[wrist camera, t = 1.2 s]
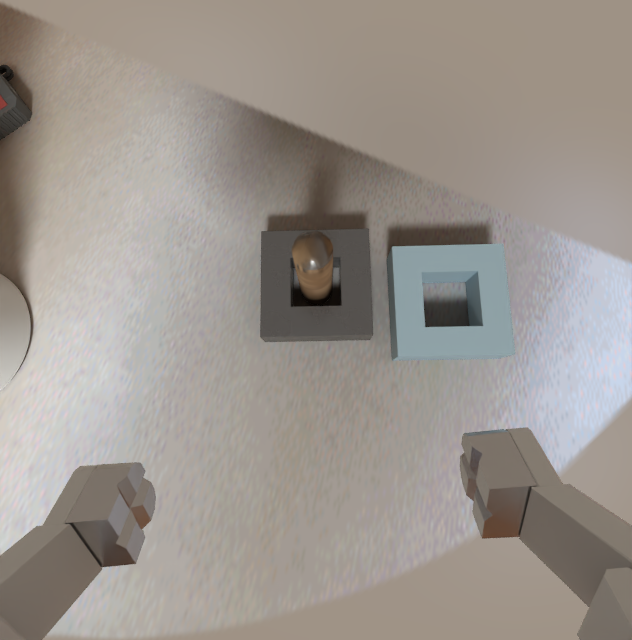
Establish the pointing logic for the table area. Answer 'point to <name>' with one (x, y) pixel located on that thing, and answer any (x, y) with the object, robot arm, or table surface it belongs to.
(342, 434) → the table surface
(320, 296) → the peg
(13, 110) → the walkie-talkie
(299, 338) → the socket block
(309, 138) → the table surface
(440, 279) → the block
